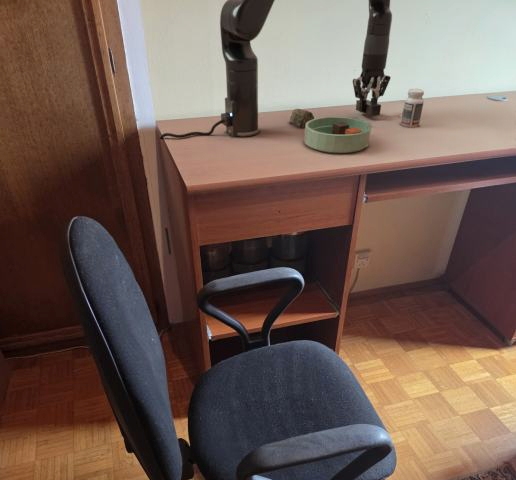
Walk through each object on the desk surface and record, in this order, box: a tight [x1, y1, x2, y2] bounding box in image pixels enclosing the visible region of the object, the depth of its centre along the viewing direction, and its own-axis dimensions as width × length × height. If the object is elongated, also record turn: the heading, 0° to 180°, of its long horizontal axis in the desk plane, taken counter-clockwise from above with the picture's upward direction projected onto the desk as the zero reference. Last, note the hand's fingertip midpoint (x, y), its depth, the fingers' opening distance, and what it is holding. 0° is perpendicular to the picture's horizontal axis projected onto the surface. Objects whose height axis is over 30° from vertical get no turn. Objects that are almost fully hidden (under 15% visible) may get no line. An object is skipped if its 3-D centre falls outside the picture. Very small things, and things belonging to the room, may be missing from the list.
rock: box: [289, 108, 315, 129], centre depth 145 cm, size 7×8×4 cm
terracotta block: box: [345, 128, 363, 135], centre depth 129 cm, size 4×4×4 cm
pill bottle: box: [400, 88, 425, 128], centre depth 142 cm, size 6×6×10 cm
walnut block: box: [332, 122, 349, 135], centre depth 133 cm, size 4×4×4 cm
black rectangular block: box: [355, 99, 382, 117], centre depth 151 cm, size 9×4×3 cm, turn 25°
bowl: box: [303, 116, 372, 154], centre depth 130 cm, size 19×19×5 cm
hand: (367, 111), depth 152 cm, fingers closed on black rectangular block, 3 cm apart
